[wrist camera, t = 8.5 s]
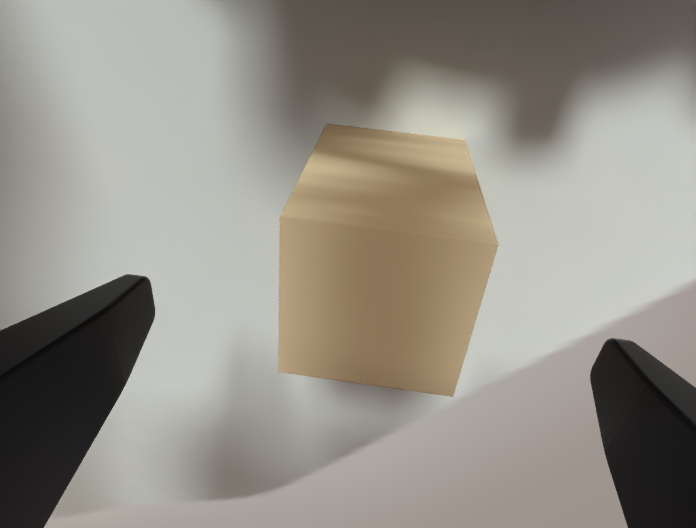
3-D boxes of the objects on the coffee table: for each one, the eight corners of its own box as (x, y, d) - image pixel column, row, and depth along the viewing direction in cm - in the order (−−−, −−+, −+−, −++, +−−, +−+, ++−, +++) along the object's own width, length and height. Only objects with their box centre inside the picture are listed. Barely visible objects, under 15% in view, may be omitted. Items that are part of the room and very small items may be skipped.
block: (319, 242, 16) (278, 371, 11) (326, 123, 14) (280, 216, 9) (438, 257, 16) (452, 396, 11) (465, 139, 14) (498, 244, 9)
